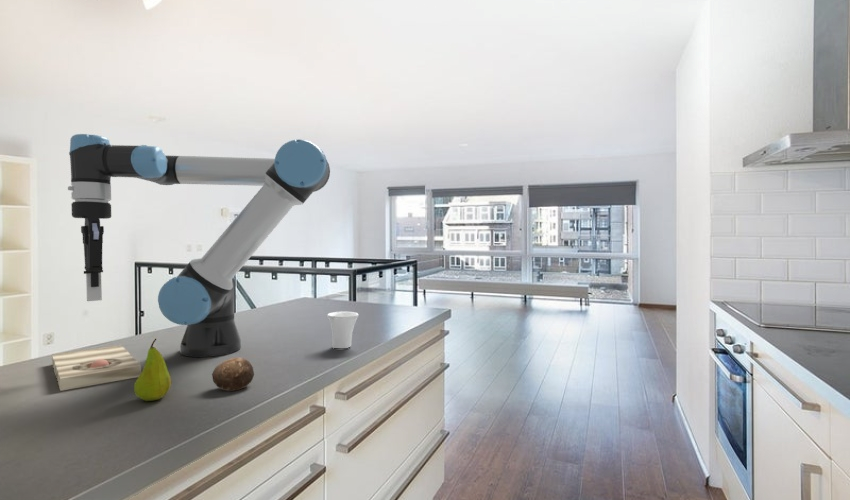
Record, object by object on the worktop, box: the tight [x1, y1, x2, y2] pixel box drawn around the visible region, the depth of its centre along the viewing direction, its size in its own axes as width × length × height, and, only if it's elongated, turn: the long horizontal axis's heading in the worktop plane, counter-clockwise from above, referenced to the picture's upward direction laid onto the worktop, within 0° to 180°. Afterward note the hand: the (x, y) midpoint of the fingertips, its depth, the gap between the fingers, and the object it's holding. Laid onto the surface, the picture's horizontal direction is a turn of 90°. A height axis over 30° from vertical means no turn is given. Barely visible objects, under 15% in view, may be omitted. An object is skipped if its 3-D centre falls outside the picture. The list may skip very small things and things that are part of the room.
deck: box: [51, 344, 142, 392], centre depth 102 cm, size 24×14×2 cm, turn 44°
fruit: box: [133, 338, 172, 402], centre depth 85 cm, size 6×6×12 cm
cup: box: [326, 311, 359, 349], centre depth 126 cm, size 9×9×10 cm
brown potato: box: [211, 357, 255, 392], centre depth 93 cm, size 8×8×6 cm
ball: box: [90, 359, 109, 368], centre depth 99 cm, size 4×4×4 cm
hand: (94, 300), depth 105 cm, fingers closed
